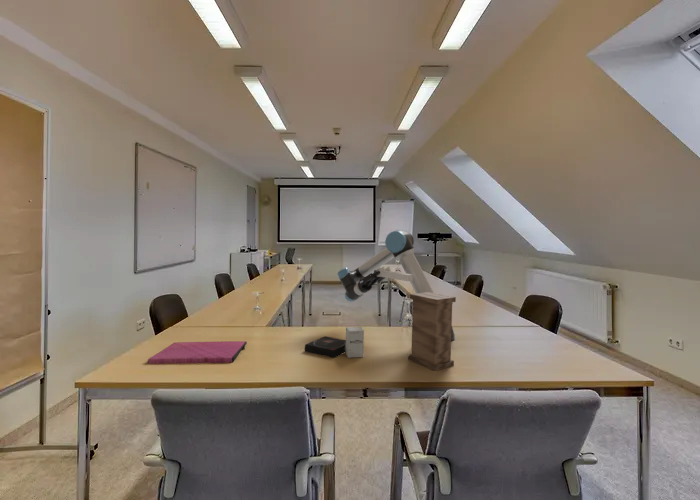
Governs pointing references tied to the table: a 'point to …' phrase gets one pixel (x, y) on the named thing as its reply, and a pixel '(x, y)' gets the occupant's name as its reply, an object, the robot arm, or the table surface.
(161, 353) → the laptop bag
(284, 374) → the table surface
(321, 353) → the portable cd player
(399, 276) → the white long bar
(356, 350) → the supplement box
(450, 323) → the stand
